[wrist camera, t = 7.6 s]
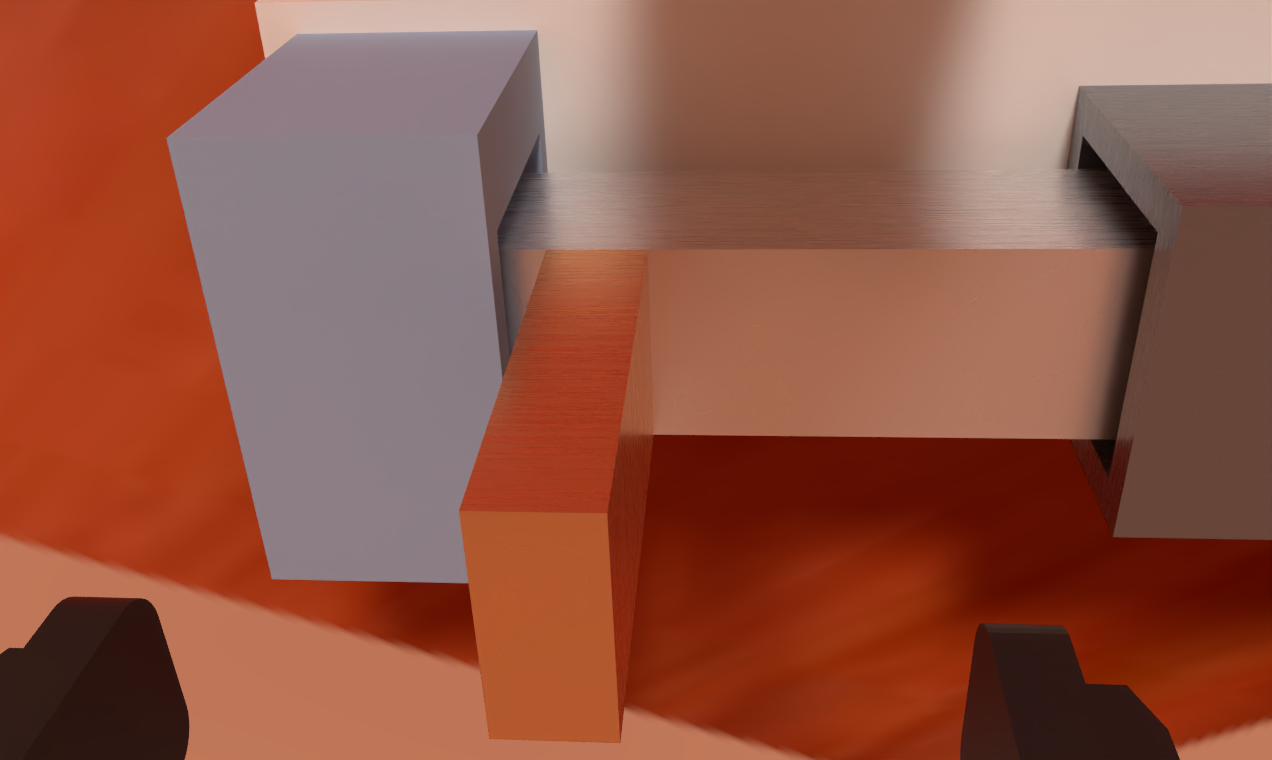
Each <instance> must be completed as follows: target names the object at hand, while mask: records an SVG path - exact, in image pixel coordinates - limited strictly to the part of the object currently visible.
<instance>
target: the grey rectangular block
mask: <svg viewBox="0 0 1272 760" xmlns="http://www.w3.org/2000/svg"><path fill="white" fill-rule="evenodd" d="M1066 169H1109V170H1110V171H1111V172H1112V174H1113V175H1114V176H1115V178H1116V179H1117V180H1118V182H1119V183H1120V184H1121V185H1122V187H1123V188H1124V189H1125V191H1126V192H1127V193H1128V194H1129V196H1130V197H1131V198H1132V200H1133V201H1134V202H1135V204H1136V205H1137V206H1138V207H1139V209H1140V210H1141V211H1142V213H1143V214H1144V215H1145V217H1146V218H1147V219H1148V220H1149V222H1150V223H1151V224H1152V226H1153V227H1154V228H1155V230H1156V231H1157V232H1158V235H1157V240H1156V245H1155V250H1154V255H1153V260H1152V265H1151V270H1150V274H1149V279H1148V284H1147V289H1146V294H1145V299H1144V304H1143V309H1142V314H1141V319H1140V324H1139V329H1138V334H1137V339H1136V344H1135V349H1134V354H1133V359H1132V364H1131V369H1130V374H1129V379H1128V384H1127V389H1126V394H1125V399H1124V404H1123V409H1122V414H1121V419H1120V424H1119V428H1118V433H1117V438H1116V440H1115V439H1070V441H1071V444H1072V446H1073V448H1074V450H1075V453H1076V455H1077V457H1078V459H1079V462H1080V464H1081V466H1082V468H1083V471H1084V473H1085V475H1086V478H1087V480H1088V482H1089V484H1090V487H1091V489H1092V491H1093V493H1094V496H1095V498H1096V500H1097V502H1098V505H1099V507H1100V509H1101V511H1102V514H1103V516H1104V518H1105V520H1106V523H1107V525H1108V527H1109V529H1110V532H1111V534H1112V536H1113V537H1130V538H1189V539H1248V540H1272V83H1271V84H1189V85H1107V86H1079V90H1078V97H1077V103H1076V110H1075V116H1074V123H1073V129H1072V135H1071V142H1070V148H1069V155H1068V161H1067V168H1066Z"/></svg>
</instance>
